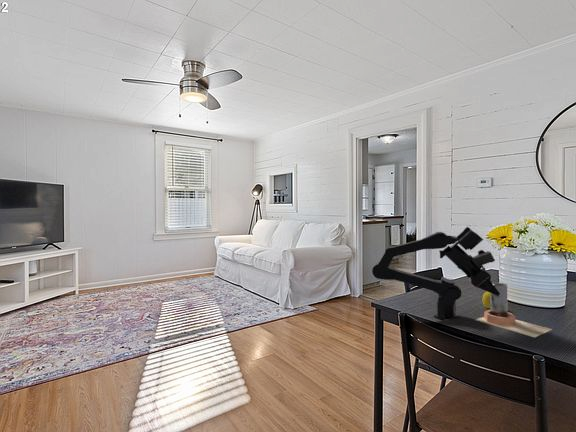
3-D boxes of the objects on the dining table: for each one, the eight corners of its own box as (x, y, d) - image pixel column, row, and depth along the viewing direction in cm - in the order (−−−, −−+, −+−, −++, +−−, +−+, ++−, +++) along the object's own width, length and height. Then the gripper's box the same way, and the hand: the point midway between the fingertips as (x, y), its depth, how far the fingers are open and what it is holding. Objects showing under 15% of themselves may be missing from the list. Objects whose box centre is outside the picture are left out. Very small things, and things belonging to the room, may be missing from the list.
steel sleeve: (505, 324, 110) (504, 286, 110) (488, 320, 114) (488, 284, 113) (509, 320, 113) (509, 283, 113) (493, 317, 117) (492, 281, 117)
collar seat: (506, 327, 108) (505, 319, 108) (480, 319, 115) (480, 312, 115) (519, 322, 112) (519, 315, 112) (493, 315, 119) (493, 308, 119)
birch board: (534, 340, 99) (534, 337, 99) (474, 322, 115) (474, 319, 115) (552, 332, 105) (552, 329, 105) (493, 316, 121) (493, 313, 121)
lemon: (479, 309, 129) (479, 289, 129) (489, 307, 131) (489, 288, 131) (492, 313, 124) (492, 292, 124) (502, 311, 126) (502, 291, 126)
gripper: (482, 246, 107) (522, 282, 103) (475, 240, 124) (509, 271, 120) (455, 269, 110) (493, 304, 106) (452, 260, 127) (485, 290, 123)
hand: (496, 291), depth 114 cm, fingers open, 9 cm apart
